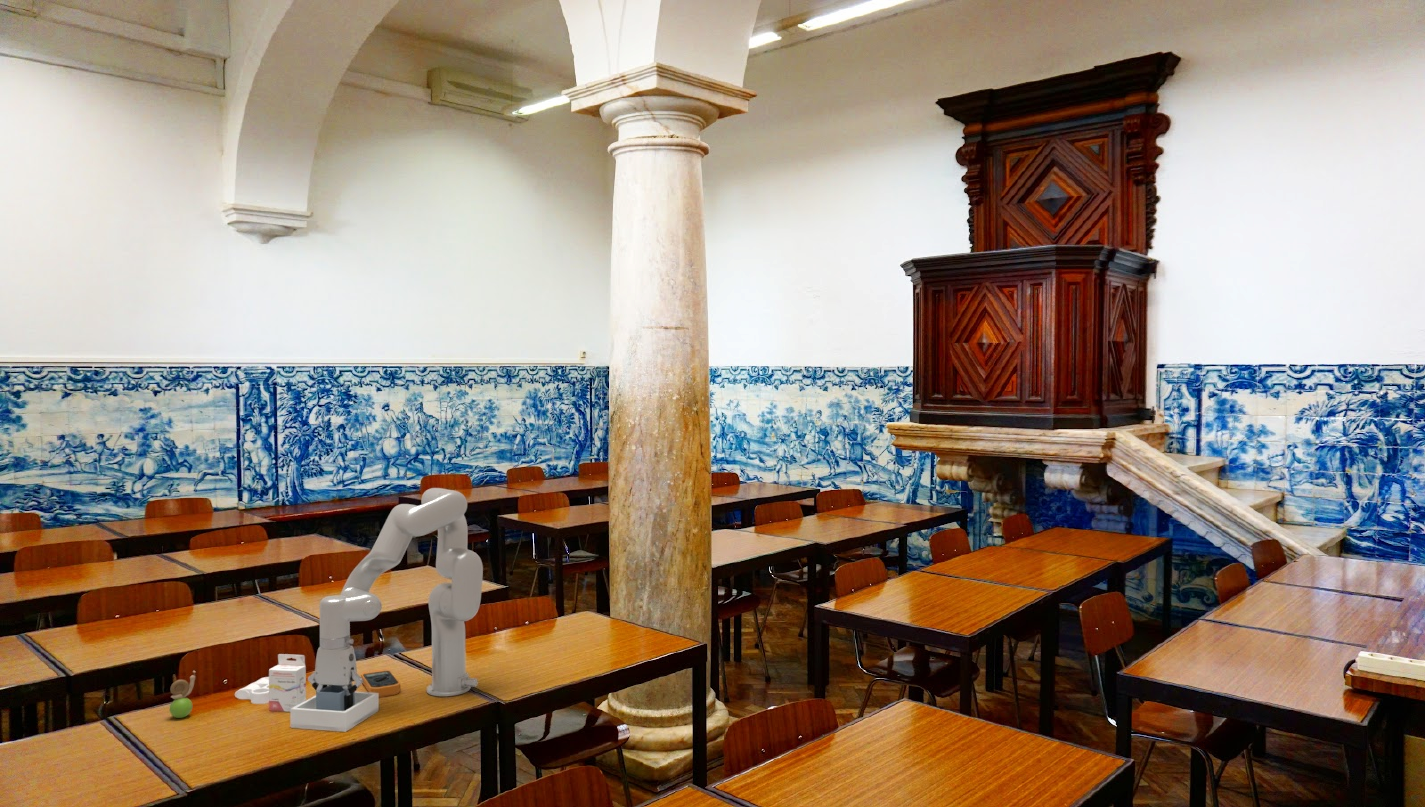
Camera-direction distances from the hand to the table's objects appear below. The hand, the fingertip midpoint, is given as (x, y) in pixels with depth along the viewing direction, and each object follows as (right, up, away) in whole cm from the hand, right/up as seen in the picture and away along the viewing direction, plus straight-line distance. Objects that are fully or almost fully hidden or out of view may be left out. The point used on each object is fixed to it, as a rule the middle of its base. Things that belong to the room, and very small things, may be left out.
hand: (335, 707), depth 255 cm
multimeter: (+3, -3, +26) cm, 27 cm away
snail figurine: (-42, -4, +2) cm, 43 cm away
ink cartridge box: (-17, -3, +8) cm, 19 cm away
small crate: (0, -1, 0) cm, 1 cm away
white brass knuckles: (-28, -3, +22) cm, 35 cm away
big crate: (0, -3, 0) cm, 3 cm away
